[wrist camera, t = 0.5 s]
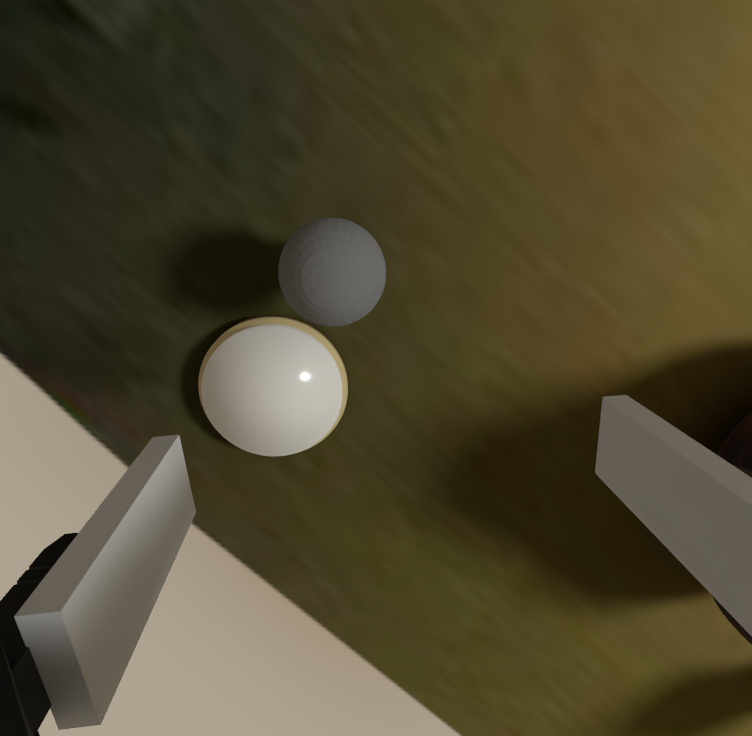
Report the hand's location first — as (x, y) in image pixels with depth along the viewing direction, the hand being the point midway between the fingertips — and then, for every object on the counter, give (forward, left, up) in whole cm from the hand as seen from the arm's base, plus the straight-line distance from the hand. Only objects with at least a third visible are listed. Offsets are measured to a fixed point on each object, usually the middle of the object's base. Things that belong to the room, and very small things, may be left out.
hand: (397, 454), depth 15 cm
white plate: (+5, -7, -21) cm, 23 cm away
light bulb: (-4, -2, -22) cm, 22 cm away
